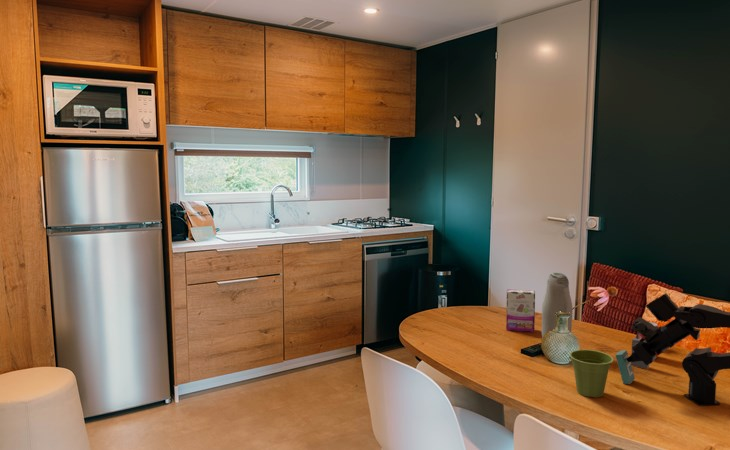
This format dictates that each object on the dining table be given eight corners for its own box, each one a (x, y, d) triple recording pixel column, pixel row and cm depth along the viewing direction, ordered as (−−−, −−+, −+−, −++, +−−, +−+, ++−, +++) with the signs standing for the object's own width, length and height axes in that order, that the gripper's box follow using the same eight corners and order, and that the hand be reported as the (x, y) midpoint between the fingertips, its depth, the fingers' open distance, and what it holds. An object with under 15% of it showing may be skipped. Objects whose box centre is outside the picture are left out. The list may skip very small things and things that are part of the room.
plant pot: (575, 381, 162) (576, 346, 161) (616, 391, 155) (618, 355, 153) (562, 394, 153) (563, 357, 152) (605, 405, 146) (607, 367, 144)
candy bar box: (534, 329, 214) (535, 290, 213) (534, 332, 210) (535, 293, 208) (506, 326, 218) (507, 288, 216) (505, 330, 213) (506, 291, 211)
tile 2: (635, 378, 162) (627, 350, 163) (631, 383, 159) (622, 354, 160) (627, 379, 164) (619, 350, 165) (622, 383, 160) (614, 355, 161)
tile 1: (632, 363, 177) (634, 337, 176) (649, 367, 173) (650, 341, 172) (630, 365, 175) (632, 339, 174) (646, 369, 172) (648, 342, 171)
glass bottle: (576, 350, 190) (579, 274, 187) (554, 354, 186) (556, 277, 183) (557, 341, 199) (559, 269, 196) (535, 345, 195) (537, 272, 192)
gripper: (658, 305, 162) (618, 331, 171) (641, 318, 149) (599, 346, 157) (685, 335, 158) (643, 360, 167) (671, 351, 144) (625, 378, 153)
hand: (628, 360), depth 161 cm, fingers closed
